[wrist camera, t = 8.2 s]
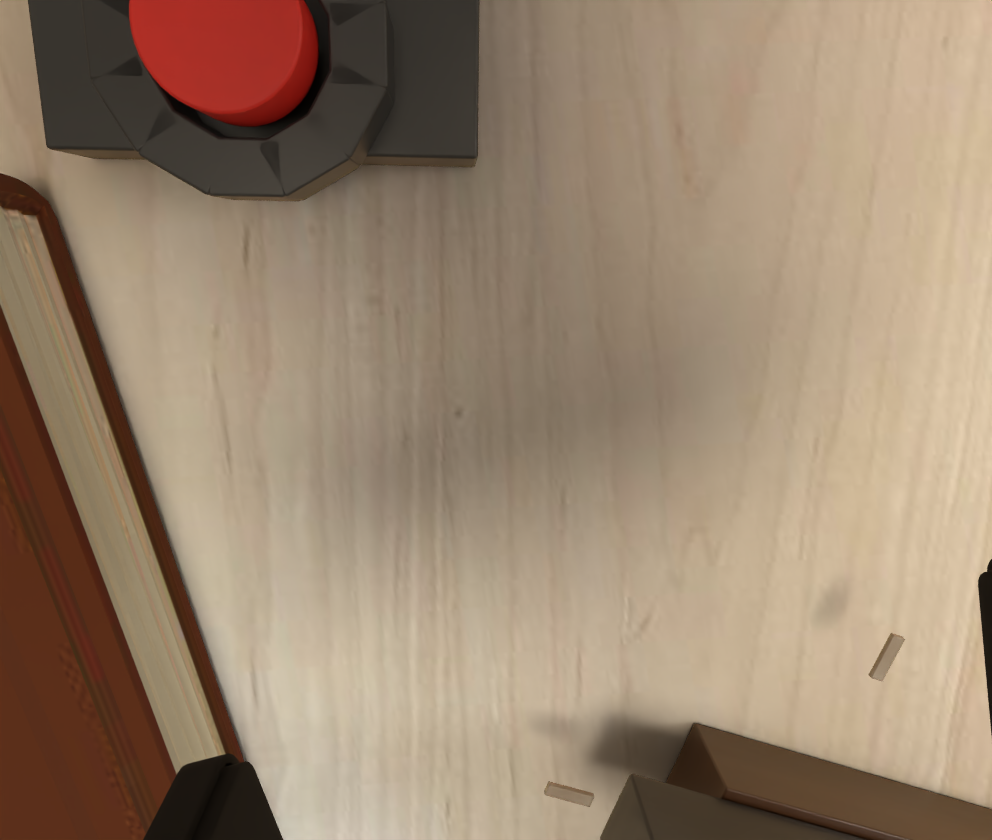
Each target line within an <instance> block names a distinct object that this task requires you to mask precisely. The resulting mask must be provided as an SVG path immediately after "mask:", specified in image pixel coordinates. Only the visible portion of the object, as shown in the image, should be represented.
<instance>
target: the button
mask: <svg viewBox="0 0 992 840" xmlns="http://www.w3.org/2000/svg"><path fill="white" fill-rule="evenodd" d="M129 21H130V27H131V33H132V37H133V40H134V44H135V47H136V49H137V51H138V54H139V56H140V58H141V60H142V62H143V64H144V65H145V67H146V69H147V70H148V71H149V73H150V74H151V76H152V77H153V78H154V79H155V81H156V82H157V83H158V84H159V85H160V86H161V87H162V88H163V89H164V90H165V91H166V92H168V93H169V94H170V95H171V96H173V97H174V98H176V99H177V100H178V101H180V102H182V103H184V104H186V105H188V106H189V107H191V108H193V109H196V110H198V111H200V112H202V113H204V114H206V115H208V116H210V117H212V118H214V119H216V120H219V121H221V122H224V123H227V124H231V125H235V126H244V127H252V126H261V125H266V124H269V123H272V122H275V121H277V120H279V119H281V118H283V117H285V116H286V115H287V114H289V113H290V112H292V111H293V110H294V109H295V108H296V107H297V106H298V105H299V104H300V103H301V101H302V100H303V99H304V98H305V96H306V95H307V93H308V91H309V90H310V88H311V85H312V83H313V81H314V78H315V75H316V71H317V66H318V60H319V43H318V35H317V30H316V26H315V23H314V20H313V17H312V14H311V12H310V10H309V8H308V6H307V4H306V3H305V1H304V0H130V1H129Z"/></svg>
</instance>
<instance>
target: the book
mask: <svg viewBox="0 0 992 840" xmlns="http://www.w3.org/2000/svg"><path fill="white" fill-rule="evenodd" d="M227 753H229V754H233V755H234V756H235V757H236V758H237V759H238V761H239V762H240V763H241V762H244V760H243V757H242V754H241V751H240V748H239V745H238V742H237V739H236V737H235V734H234V731H233V728H232V725H231V722H230V719H229V716H228V713H227V710H226V708H225V705H224V702H223V699H222V696H221V693H220V690H219V687H218V684H217V681H216V679H215V676H214V673H213V670H212V667H211V664H210V661H209V658H208V655H207V652H206V650H205V647H204V644H203V641H202V638H201V635H200V632H199V629H198V626H197V623H196V621H195V618H194V615H193V612H192V609H191V606H190V603H189V600H188V597H187V595H186V592H185V589H184V586H183V583H182V580H181V577H180V574H179V571H178V568H177V566H176V563H175V560H174V557H173V554H172V551H171V548H170V545H169V542H168V539H167V537H166V534H165V531H164V528H163V525H162V522H161V519H160V516H159V513H158V510H157V508H156V505H155V502H154V499H153V496H152V493H151V490H150V487H149V484H148V481H147V479H146V476H145V473H144V470H143V467H142V464H141V461H140V458H139V455H138V452H137V450H136V447H135V444H134V441H133V438H132V435H131V432H130V429H129V426H128V424H127V421H126V418H125V415H124V412H123V409H122V406H121V403H120V400H119V397H118V395H117V392H116V389H115V386H114V383H113V380H112V377H111V374H110V371H109V368H108V366H107V363H106V360H105V357H104V354H103V351H102V348H101V345H100V342H99V339H98V337H97V334H96V331H95V328H94V325H93V322H92V319H91V316H90V313H89V310H88V308H87V305H86V302H85V299H84V296H83V293H82V290H81V287H80V284H79V282H78V279H77V276H76V273H75V270H74V267H73V264H72V261H71V258H70V255H69V253H68V250H67V247H66V244H65V241H64V238H63V235H62V232H61V229H60V226H59V224H58V221H57V218H56V216H55V214H54V212H53V210H52V208H51V206H50V204H49V202H48V201H47V200H46V199H45V198H44V197H42V196H41V195H40V194H39V193H38V192H37V191H36V190H34V189H33V188H32V187H30V186H29V185H27V184H26V183H24V182H22V181H20V180H18V179H16V178H13V177H11V176H7V175H4V174H0V840H143V839H144V837H145V835H146V833H147V831H148V829H149V827H150V825H151V823H152V821H153V819H154V817H155V816H156V814H157V812H158V810H159V808H160V806H161V804H162V802H163V800H164V798H165V796H166V794H167V792H168V790H169V788H170V787H171V785H172V783H173V781H174V779H175V777H176V775H177V773H178V772H179V770H180V769H181V767H182V766H184V765H186V764H188V763H192V762H196V761H200V760H204V759H208V758H212V757H216V756H219V755H223V754H227Z"/></svg>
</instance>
